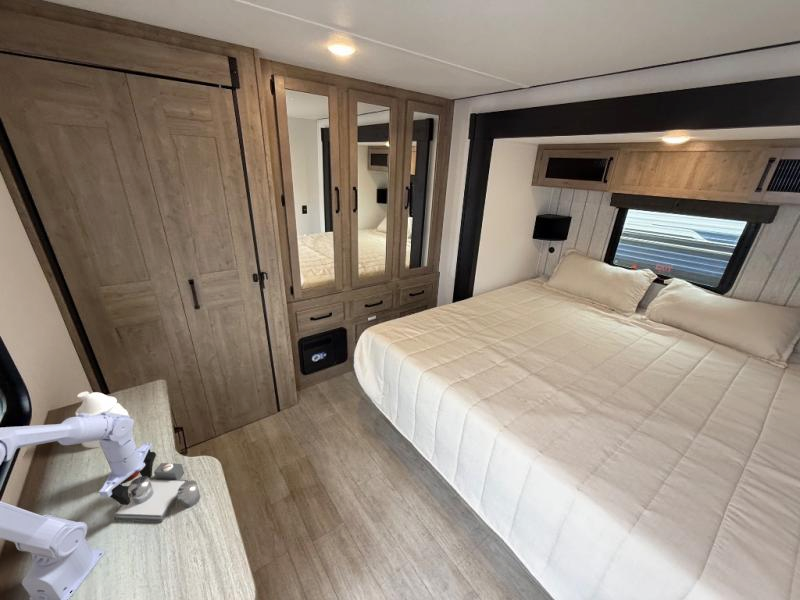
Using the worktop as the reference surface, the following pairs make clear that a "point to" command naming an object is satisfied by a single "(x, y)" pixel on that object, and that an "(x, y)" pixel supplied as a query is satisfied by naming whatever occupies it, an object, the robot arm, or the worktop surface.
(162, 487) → the scale
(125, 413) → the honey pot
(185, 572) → the worktop surface
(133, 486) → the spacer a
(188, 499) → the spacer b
